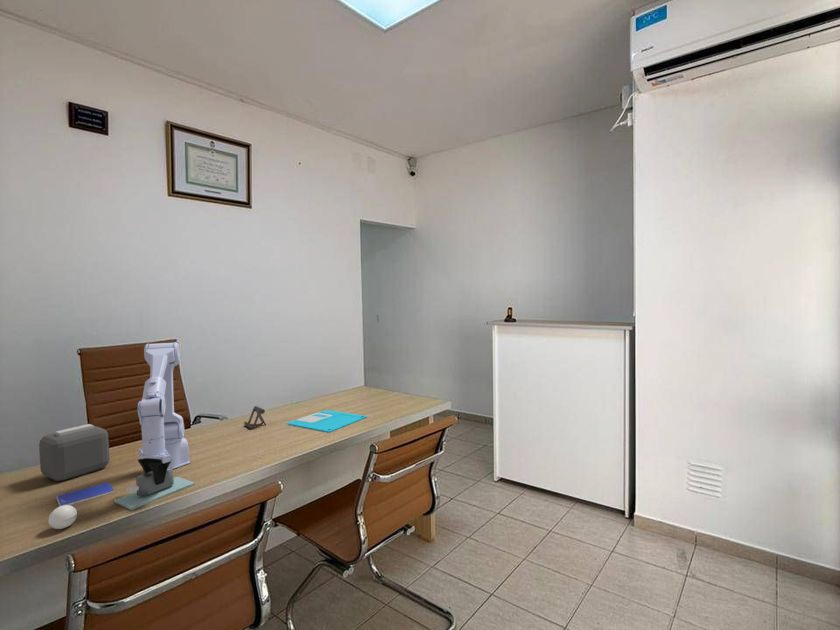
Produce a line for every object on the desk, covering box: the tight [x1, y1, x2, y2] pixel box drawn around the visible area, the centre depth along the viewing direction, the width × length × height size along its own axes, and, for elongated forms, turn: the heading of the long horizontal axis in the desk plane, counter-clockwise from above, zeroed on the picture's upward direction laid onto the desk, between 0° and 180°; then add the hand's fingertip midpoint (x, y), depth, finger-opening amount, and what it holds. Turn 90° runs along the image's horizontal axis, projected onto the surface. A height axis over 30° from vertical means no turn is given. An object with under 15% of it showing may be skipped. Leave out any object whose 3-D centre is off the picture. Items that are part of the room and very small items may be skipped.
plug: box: [125, 466, 174, 496], centre depth 123 cm, size 12×4×5 cm, turn 149°
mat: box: [113, 476, 196, 511], centre depth 124 cm, size 18×10×1 cm, turn 149°
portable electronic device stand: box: [243, 405, 267, 430], centre depth 191 cm, size 9×8×8 cm
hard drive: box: [56, 482, 115, 507], centre depth 124 cm, size 2×8×12 cm
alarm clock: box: [38, 423, 110, 482], centre depth 142 cm, size 16×11×16 cm
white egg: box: [48, 505, 80, 530], centre depth 107 cm, size 8×6×6 cm
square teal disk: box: [286, 409, 368, 434], centre depth 196 cm, size 26×28×1 cm
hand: (155, 481), depth 124 cm, fingers open, 4 cm apart
